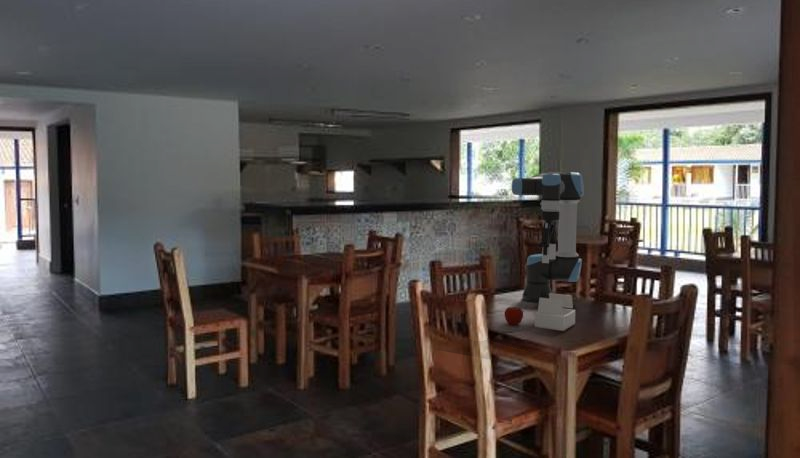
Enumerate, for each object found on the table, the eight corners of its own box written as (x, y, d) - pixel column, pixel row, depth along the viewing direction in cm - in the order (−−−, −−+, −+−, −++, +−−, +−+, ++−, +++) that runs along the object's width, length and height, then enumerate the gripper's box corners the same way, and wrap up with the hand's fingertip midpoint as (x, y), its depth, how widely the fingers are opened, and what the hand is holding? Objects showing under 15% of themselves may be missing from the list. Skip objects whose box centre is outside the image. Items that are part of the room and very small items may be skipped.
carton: (546, 319, 277) (546, 306, 277) (575, 323, 270) (576, 310, 270) (533, 326, 265) (534, 312, 264) (564, 331, 258) (565, 316, 257)
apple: (521, 322, 272) (521, 304, 272) (524, 326, 264) (524, 308, 264) (503, 322, 272) (503, 304, 272) (505, 326, 265) (506, 308, 264)
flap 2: (549, 305, 276) (550, 305, 276) (572, 308, 271) (572, 308, 271) (548, 293, 274) (549, 293, 274) (571, 296, 268) (571, 295, 269)
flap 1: (561, 314, 258) (561, 314, 258) (537, 311, 263) (537, 311, 263) (563, 300, 259) (563, 300, 259) (539, 297, 264) (539, 297, 264)
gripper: (547, 209, 277) (546, 257, 279) (534, 211, 255) (533, 263, 256) (565, 209, 274) (563, 258, 276) (553, 212, 251) (551, 265, 253)
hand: (548, 261), depth 266 cm, fingers open, 13 cm apart
